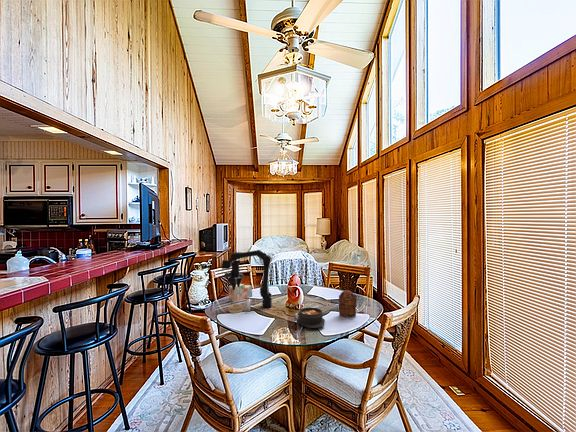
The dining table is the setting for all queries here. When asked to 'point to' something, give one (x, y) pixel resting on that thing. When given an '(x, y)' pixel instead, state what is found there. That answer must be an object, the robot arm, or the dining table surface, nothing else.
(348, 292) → the wooden figurine
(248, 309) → the steel rod
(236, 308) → the wooden bead
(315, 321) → the casserole
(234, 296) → the stack of blocks
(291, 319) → the dining table surface
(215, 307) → the dining table surface
